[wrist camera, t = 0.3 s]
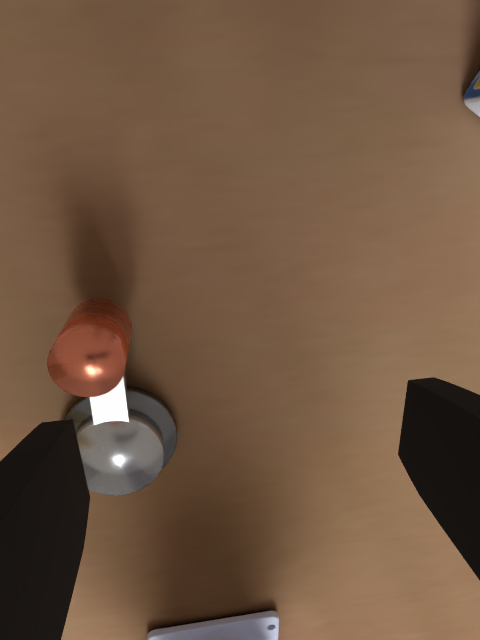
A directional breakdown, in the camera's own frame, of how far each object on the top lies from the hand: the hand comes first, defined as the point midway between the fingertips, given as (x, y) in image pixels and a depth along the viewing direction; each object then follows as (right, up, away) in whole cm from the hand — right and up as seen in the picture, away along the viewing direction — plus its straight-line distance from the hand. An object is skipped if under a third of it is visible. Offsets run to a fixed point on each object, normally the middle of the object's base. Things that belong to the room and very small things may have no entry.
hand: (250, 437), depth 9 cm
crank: (-6, -1, +9) cm, 11 cm away
